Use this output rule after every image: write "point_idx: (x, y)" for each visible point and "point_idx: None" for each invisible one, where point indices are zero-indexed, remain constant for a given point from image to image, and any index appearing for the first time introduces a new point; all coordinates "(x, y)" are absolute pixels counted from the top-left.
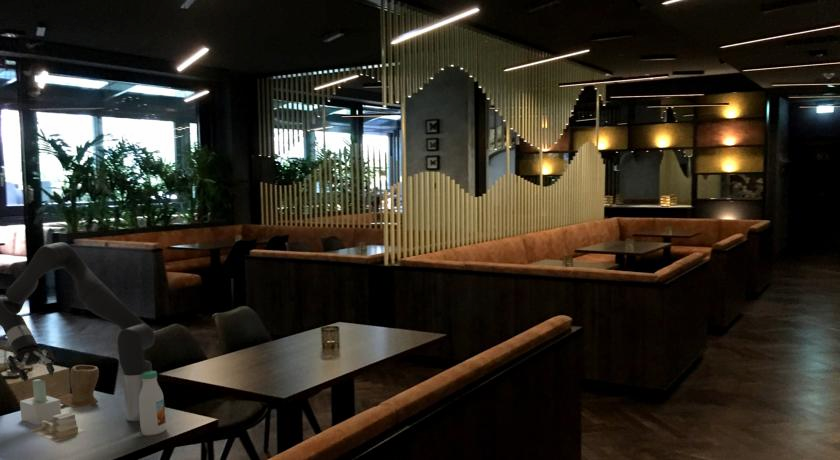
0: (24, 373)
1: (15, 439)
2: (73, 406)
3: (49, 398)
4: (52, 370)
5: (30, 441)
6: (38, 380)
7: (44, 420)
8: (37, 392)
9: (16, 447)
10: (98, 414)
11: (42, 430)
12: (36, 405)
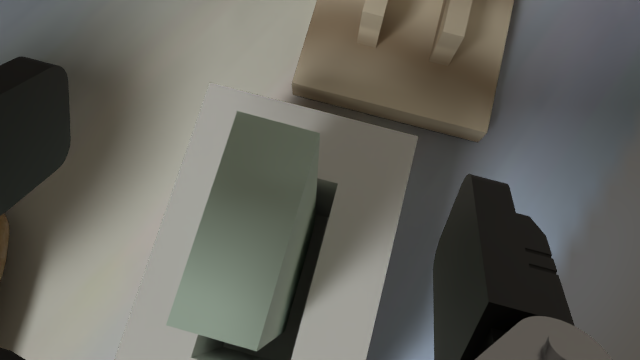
0: (514, 234)
1: (559, 171)
2: (4, 253)
3: (197, 219)
4: (30, 63)
5: (545, 51)
6: (232, 245)
7: (447, 27)
8: (301, 232)
9: (636, 50)
10: (62, 27)
11: (455, 55)
12: (395, 156)
